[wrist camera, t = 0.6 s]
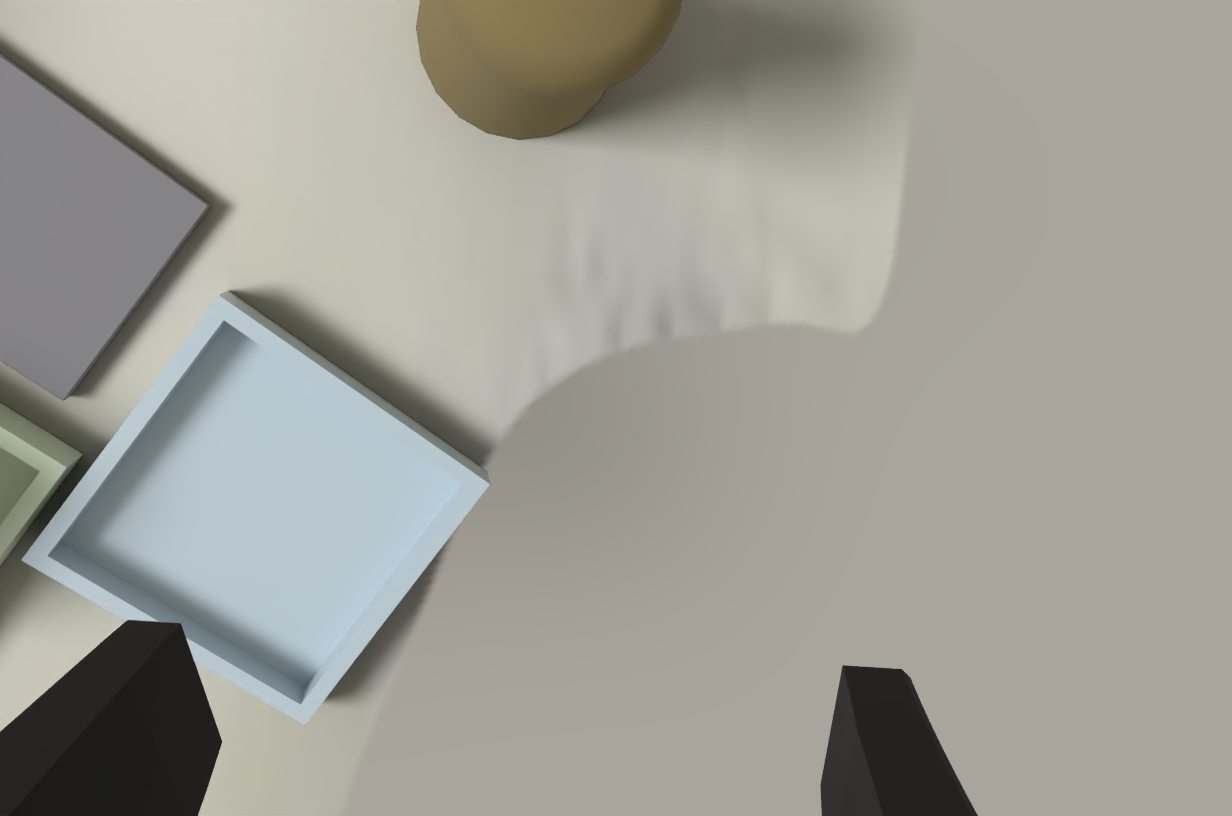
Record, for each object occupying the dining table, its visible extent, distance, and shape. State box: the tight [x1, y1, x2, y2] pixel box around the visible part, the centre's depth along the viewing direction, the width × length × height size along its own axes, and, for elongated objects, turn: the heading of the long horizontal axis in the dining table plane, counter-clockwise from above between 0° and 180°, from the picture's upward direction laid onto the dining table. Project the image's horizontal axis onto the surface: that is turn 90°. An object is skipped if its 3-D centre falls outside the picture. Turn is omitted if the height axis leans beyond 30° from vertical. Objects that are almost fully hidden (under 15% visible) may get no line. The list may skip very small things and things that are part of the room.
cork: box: [416, 0, 682, 140], centre depth 25 cm, size 6×6×11 cm
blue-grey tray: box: [21, 291, 490, 725], centre depth 31 cm, size 10×10×2 cm
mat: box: [0, 53, 211, 400], centre depth 28 cm, size 7×8×1 cm
